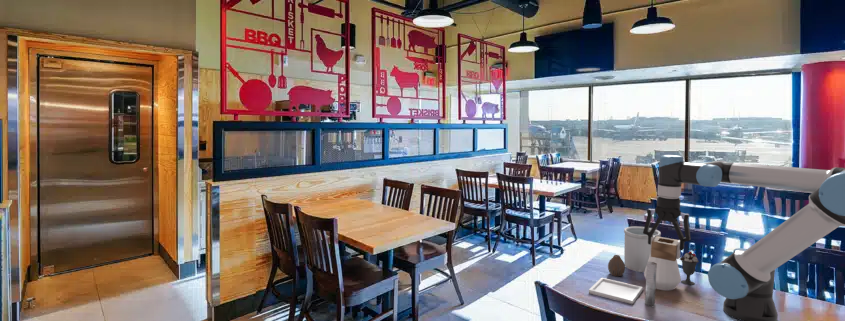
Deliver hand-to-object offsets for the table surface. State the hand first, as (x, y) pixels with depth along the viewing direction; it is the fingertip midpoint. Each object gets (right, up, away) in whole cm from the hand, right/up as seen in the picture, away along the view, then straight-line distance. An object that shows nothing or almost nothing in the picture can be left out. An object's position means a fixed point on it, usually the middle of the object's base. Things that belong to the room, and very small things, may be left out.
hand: (664, 255), depth 159 cm
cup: (+7, -16, +14) cm, 23 cm away
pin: (-7, -18, -2) cm, 19 cm away
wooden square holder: (0, 0, 0) cm, 0 cm away
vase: (-6, -15, +27) cm, 31 cm away
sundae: (+20, -16, +17) cm, 30 cm away
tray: (-15, -17, +9) cm, 24 cm away
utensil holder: (+9, -14, +35) cm, 39 cm away
